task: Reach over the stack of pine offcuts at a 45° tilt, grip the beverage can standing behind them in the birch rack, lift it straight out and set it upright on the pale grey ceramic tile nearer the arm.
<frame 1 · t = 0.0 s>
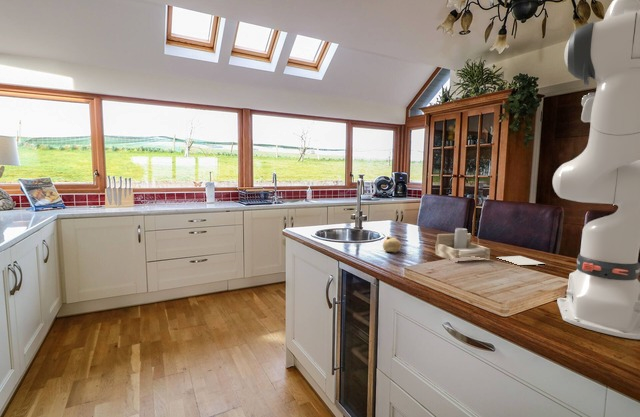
hand: (620, 134, 103), 48 cm above the countertop, tool pointing down, fingers open, 8 cm apart
onion: (391, 252, 147), on the countertop
beverage can: (459, 257, 140), resting in birch rack
ceramic tile: (519, 261, 134), on the countertop
offcut stack: (468, 260, 135), on the countertop
birch rack: (459, 256, 140), on the countertop
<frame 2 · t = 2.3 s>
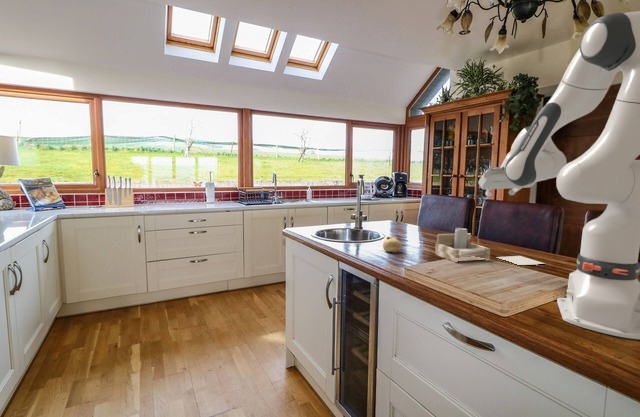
hand: (499, 194, 128), 27 cm above the countertop, tool tilted 40°, fingers open, 8 cm apart
nothing on the countertop moved.
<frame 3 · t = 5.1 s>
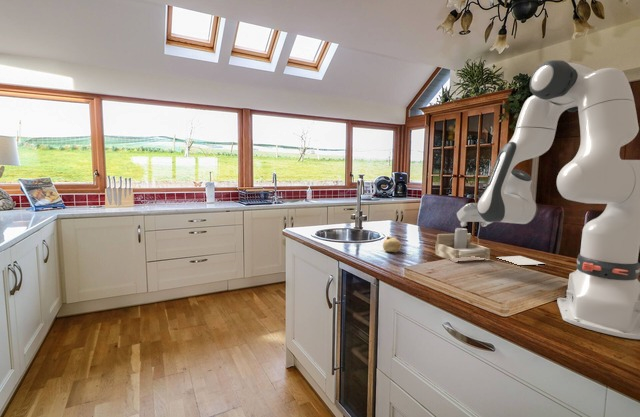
hand: (472, 225, 132), 15 cm above the countertop, tool tilted 45°, fingers open, 8 cm apart
nothing on the countertop moved.
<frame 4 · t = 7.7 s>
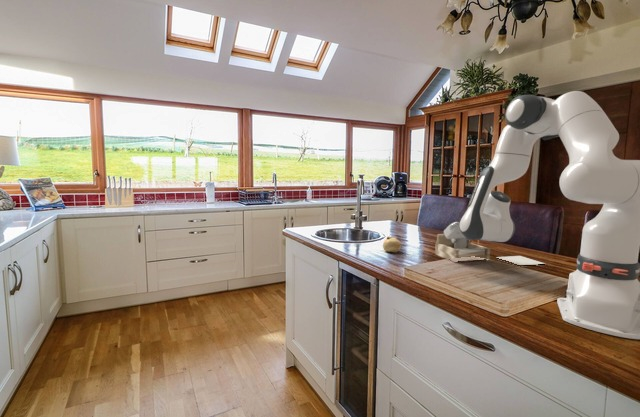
hand: (459, 241, 140), 7 cm above the countertop, tool tilted 45°, fingers closed on beverage can, 5 cm apart
beverage can: (459, 257, 140), resting in birch rack, touching gripper
everything else where it was.
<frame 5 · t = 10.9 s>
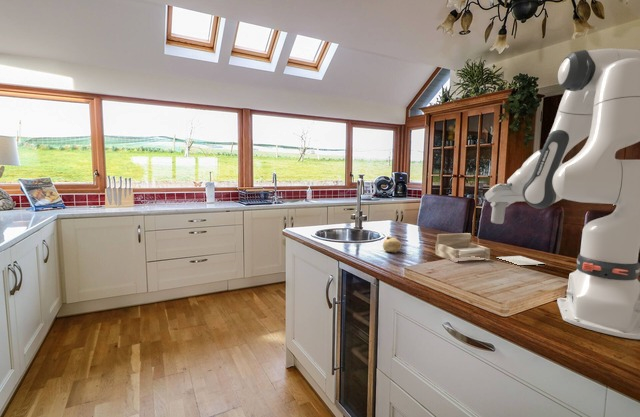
hand: (498, 205, 136), 22 cm above the countertop, tool tilted 45°, fingers closed on beverage can, 5 cm apart
beverage can: (497, 223, 137), point 15 cm above the countertop, touching gripper
everything else where it was.
when the fingers open (8 cm above the countertop, at t = 14.3 s): beverage can moves 1 cm, resting on ceramic tile.
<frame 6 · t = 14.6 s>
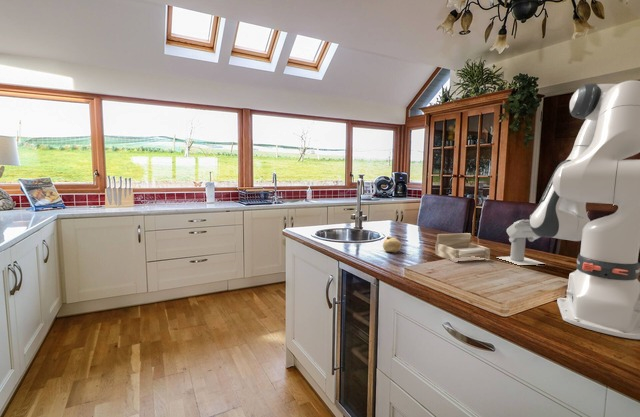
hand: (520, 240, 133), 9 cm above the countertop, tool tilted 45°, fingers open, 8 cm apart
beverage can: (516, 260, 134), resting on ceramic tile
everything else where it was.
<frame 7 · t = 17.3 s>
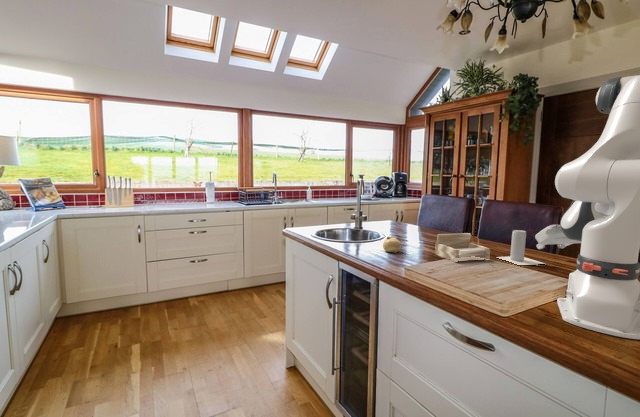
hand: (549, 247, 121), 9 cm above the countertop, tool tilted 45°, fingers open, 8 cm apart
nothing on the countertop moved.
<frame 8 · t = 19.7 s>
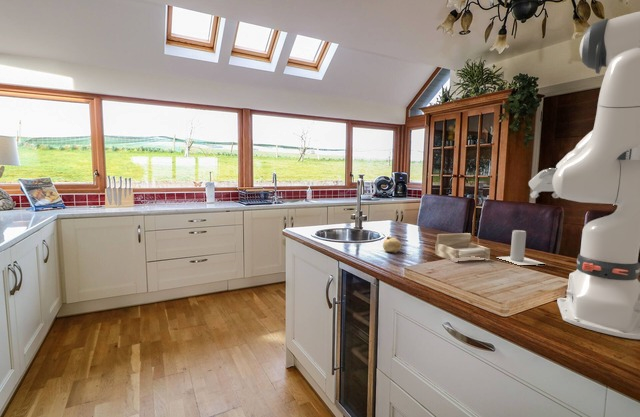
hand: (543, 196, 117), 27 cm above the countertop, tool tilted 45°, fingers open, 8 cm apart
nothing on the countertop moved.
at the end: beverage can inside the target area on the ceramic tile (1.2 cm from its centre), point 0.4 cm above the ceramic tile's base; beverage can tilted 0°; the gripper is holding nothing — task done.
